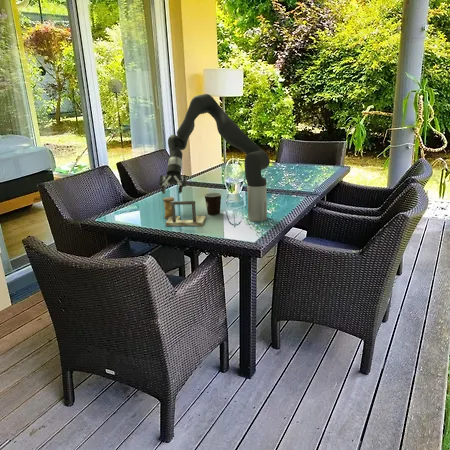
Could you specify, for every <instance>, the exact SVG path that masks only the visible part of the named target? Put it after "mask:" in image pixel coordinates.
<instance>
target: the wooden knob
mask: <svg viewBox="0 0 450 450" xmlns="http://www.w3.org/2000/svg"><path fill="white" fill-rule="evenodd" d="M162 201H163V202H164V219H166V220H168V219H169V217H170V216H172V208H171V201H175V197H173V196H172V197H171V196H168V197H167V196H166V197H164V198H162Z"/></svg>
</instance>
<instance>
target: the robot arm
mask: <svg viewBox="0 0 450 450" xmlns="http://www.w3.org/2000/svg"><path fill="white" fill-rule="evenodd" d="M188 105H189V106H188V109H187V111H186V113H185V117H184V119H183V120H182V123H181V124H180V126H179V128H178V129H177V131H176V134H170V135H169V137H168V139H167V145H168V151H169V158H168V162H167V169H166V175H164V176H163V175H162V174H160V177H159V181H158V186H159V187H160V188H161V193H162V195H164V194H166V187H167V186H169V185H176V184H177V185H178V194H179V195H180V194H182V193H183V188H185V187H187V175H186V174H183V175H182V168H183V152H182V151H184V150H185V149H186V148H187V146H188V145H187V144H188V140H189V139H190V138H189V137H190V136H191V134H192V133H193V131H194V130H195V121H196V119H197V117H199V116H200V115H205V114H209V116H211V117H212V118H213V119H214V120H215V123H216V128H217V132H218V134H219V135H220V136H221V138H223V140H224V141H225V142H227V143H228V144H229V145H231V146H232V147H234V148H236V149H238V150H240V151H242V152H243V153H245V157H244V174H245V175H244V177H245V181H246V183H247V185H246V187H247V192H246V193H247V218H248V221H251V222H263V221H267V219H268V201H267V200H268V198H267V179H266V177H263V175H262V170H266V169H267V168H269V166H270V163H271V162H270V161H271V160H270V157H269V154H268V153H267V152H266V151H265V150H264V149H263V148H261V147H260V146H259V145H258V144H256V142H254V141H253V140H252V139H251V138H250V137H249V136H248V135H247V134H246V133H245V132H244V131H243V130H242V129H241V127H239V126H238V124H237V123H235V121H234V120H232V119H231V118H230V116H229V115H228V114H227V113H226V112H225V110H223V109H222V108H221V106H220V104H218V102H217V100H215V98H214V96H212V95H210V94H209V93H204V94H202V93H201V94H198V95H196V96H193V98H192V99H191V101H190V103H189V104H188ZM181 180H182V182H181Z"/></svg>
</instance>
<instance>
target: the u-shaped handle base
mask: <svg viewBox="0 0 450 450" xmlns="http://www.w3.org/2000/svg"><path fill="white" fill-rule="evenodd" d="M176 205H177V206H179V205H180V206H181V205H183V206H185V205H186V206H187V205H191V213H192V214H191V215H192V219H181V215H176ZM171 208H172V216H170V217H169V219H166V221H165V226H166V227H177V226H178V227H182V226H184V227H185V226H192V227H194V226H195V227H196V226H197V227H199V226H201V227H203V225H204V223H205V221H206V219H207V216H206V215H197V213H196V209H197V208H196V201H195V200H185V201H184V200H183V201H182V200H179V201H178V200H177V201H176V200H174V201H171Z"/></svg>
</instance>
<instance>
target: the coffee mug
mask: <svg viewBox="0 0 450 450" xmlns="http://www.w3.org/2000/svg"><path fill="white" fill-rule="evenodd" d="M204 199H205V206H206V211H207V214H208V215H209V216H217V215H220V214H221V206H222V205H221V203H222V194H221V193H220V192H210V193H209V192H208V193H205V194H204Z"/></svg>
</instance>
